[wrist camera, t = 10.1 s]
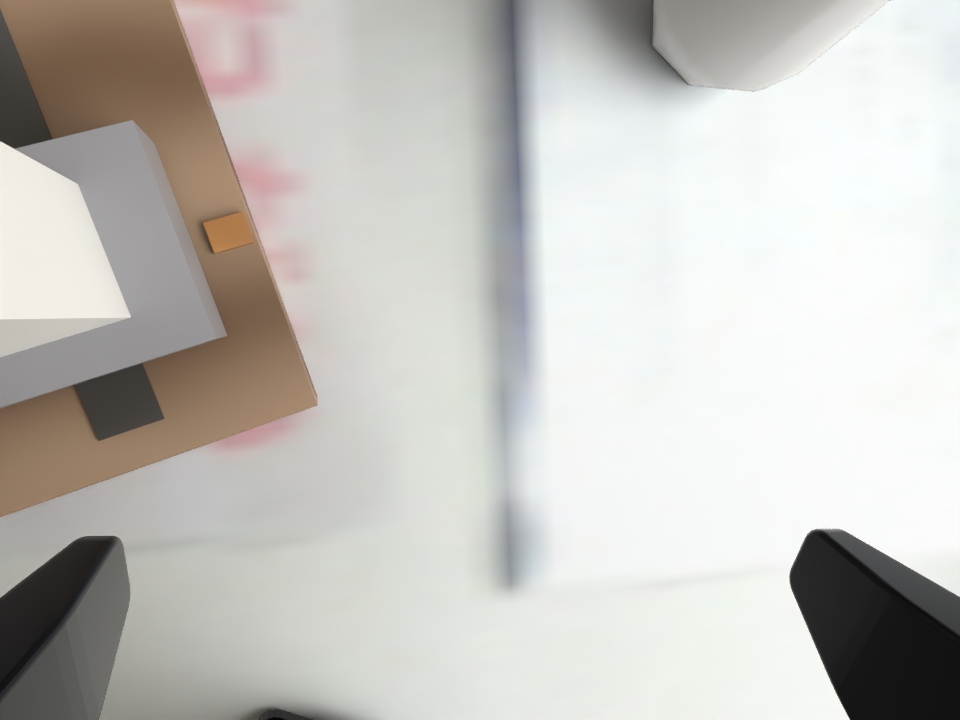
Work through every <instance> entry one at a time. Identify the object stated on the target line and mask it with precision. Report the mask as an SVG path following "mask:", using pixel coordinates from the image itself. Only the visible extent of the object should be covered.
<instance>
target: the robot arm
mask: <svg viewBox="0 0 960 720" xmlns="http://www.w3.org/2000/svg"><path fill="white" fill-rule="evenodd" d="M789 577H790V585H791V589H792V592H793V594H794V596H795V599H796V601H797V603H798V606H799V608H800V610H801V613H802V615H803V617H804V620H805V622H806V625H807V627H808V629H809V632H810V634H811V636H812V639H813V641H814V643H815V646H816V648H817V650H818V653H819V655H820V657H821V660H822V662H823V664H824V667H825V669H826V672H827V674H828V676H829V678H830V681H831V683H832V685H833V687H834V689H835V692H836V694H837V696H838V698H839V700H840V702H841V704H842V706H843V708H844V710H845V711H846V713H847V715H848V717H849V719H850V720H960V597H959V596H957V595H955V594H954V593H952V592H950V591H948V590H947V589H945V588H943V587H941V586H940V585H938V584H936V583H934V582H933V581H931V580H929V579H928V578H926V577H924V576H922V575H921V574H919V573H917V572H915V571H914V570H912V569H910V568H908V567H907V566H905V565H903V564H901V563H900V562H898V561H896V560H894V559H893V558H891V557H889V556H887V555H886V554H884V553H882V552H880V551H879V550H877V549H875V548H873V547H872V546H870V545H868V544H866V543H865V542H863V541H861V540H859V539H858V538H856V537H854V536H853V535H851V534H849V533H847V532H845V531H843V530H840V529H815V530H812V531H811V532H809V533H808V534H807V536H806V538H805V540H804V542H803V544H802V546H801V548H800V550H799V553H798V555H797V557H796V559H795V561H794V563H793V566H792V568H791V570H790V576H789ZM129 601H130V583H129V577H128V571H127V565H126V559H125V553H124V547H123V544H122V542H121V540H120V539H119V538H118V537H115V536H85V537H81V538H79V539H77V540H75V541H74V542H72V543H71V544H70V545H68V546H67V547H66V548H64V549H63V550H62V551H60V552H59V553H58V554H57V555H55V556H54V557H53V558H51V559H50V560H49V561H47V562H46V563H45V564H44V565H42V566H41V567H40V568H38V569H37V570H36V571H34V572H33V573H32V574H31V575H29V576H28V577H27V578H25V579H24V580H23V581H21V582H20V583H19V584H18V585H16V586H15V587H14V588H12V589H11V590H10V591H8V592H7V593H6V594H5V595H3V596H2V597H1V598H0V720H99V717H100V714H101V710H102V706H103V702H104V698H105V695H106V691H107V687H108V683H109V679H110V676H111V672H112V668H113V664H114V660H115V657H116V653H117V649H118V645H119V641H120V638H121V634H122V630H123V626H124V622H125V619H126V615H127V611H128V607H129ZM259 720H311V719H308V718H305V717H302V716H299V715H296V714H292V713H289V712H286V711H283V710H277V709H274V710H270V711H267V712H266V713H264V714H263V715H262V716H261V717H260V719H259Z"/></svg>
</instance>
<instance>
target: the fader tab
mask: <svg viewBox="0 0 960 720" xmlns="http://www.w3.org/2000/svg"><path fill="white" fill-rule="evenodd" d="M225 336H227V333H226V331H225V328H224V325H223V323H222V320H221V317H220V315H219V312H218V309H217V307H216V304H215V302H214V299H213V296H212V294H211V291H210V288H209V286H208V283H207V280H206V278H205V275H204V273H203V270H202V267H201V265H200V262H199V259H198V257H197V254H196V251H195V249H194V246H193V244H192V241H191V238H190V236H189V233H188V230H187V228H186V225H185V222H184V220H183V217H182V215H181V212H180V209H179V207H178V204H177V201H176V199H175V196H174V193H173V191H172V188H171V186H170V183H169V180H168V178H167V175H166V172H165V170H164V167H163V164H162V162H161V159H160V156H159V154H158V151H157V149H156V146H155V143H154V142H153V141H152V140H151V139H150V138H149V137H148V136H147V135H146V134H145V133H144V132H143V131H142V130H141V128H140V127H139V126H138V125H137V124H136V123H135V122H134V121H133V120H130V121H126V122H122V123H118V124H114V125H110V126H106V127H102V128H98V129H93V130H89V131H85V132H81V133H77V134H73V135H69V136H65V137H61V138H56V139H52V140H48V141H44V142H40V143H36V144H32V145H28V146H24V147H19V148H15V149H13V148H12V147H10V146H8V145H6V144H4V143H2V142H1V141H0V409H1V408H4V407H7V406H10V405H13V404H16V403H19V402H22V401H26V400H29V399H32V398H35V397H38V396H41V395H44V394H47V393H50V392H54V391H57V390H60V389H63V388H66V387H69V386H72V385H75V384H79V383H82V382H85V381H88V380H91V379H94V378H97V377H100V376H104V375H107V374H110V373H113V372H116V371H119V370H122V369H125V368H129V367H132V366H135V365H138V364H141V363H144V362H147V361H150V360H154V359H157V358H160V357H163V356H166V355H169V354H172V353H175V352H178V351H182V350H185V349H188V348H191V347H194V346H197V345H200V344H203V343H207V342H210V341H213V340H216V339H219V338H222V337H225Z"/></svg>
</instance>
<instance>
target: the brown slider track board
mask: <svg viewBox="0 0 960 720" xmlns="http://www.w3.org/2000/svg"><path fill="white" fill-rule="evenodd" d="M130 120H133V121H134V122H135V123H136V124H137V125H138V126H139V127H140V128H141V130H142V131H143V132H144V133H145V134H146V135H147V136H148V137H149V138H150V139H151V140H152V141H153V142H154V143H155V146H156V149H157V151H158V154H159V156H160V159H161V162H162V164H163V167H164V170H165V172H166V175H167V178H168V180H169V183H170V186H171V188H172V191H173V193H174V196H175V199H176V201H177V204H178V207H179V209H180V212H181V215H182V217H183V220H184V222H185V225H186V228H187V230H188V233H189V236H190V238H191V241H192V244H193V246H194V249H195V251H196V254H197V257H198V259H199V262H200V265H201V267H202V270H203V273H204V275H205V278H206V280H207V283H208V286H209V288H210V291H211V294H212V296H213V299H214V302H215V304H216V307H217V309H218V312H219V315H220V317H221V320H222V323H223V325H224V328H225V331H226V333H227V336H225V337H222V338H219V339H216V340H213V341H210V342H207V343H203V344H200V345H197V346H194V347H191V348H188V349H185V350H182V351H178V352H175V353H172V354H169V355H166V356H163V357H160V358H157V359H154V360H150V361H147V362H144V363H141V364H138V365H135V366H132V367H129V368H125V369H122V370H119V371H116V372H113V373H110V374H107V375H104V376H100V377H97V378H94V379H91V380H88V381H85V382H82V383H79V384H75V385H72V386H69V387H66V388H63V389H60V390H57V391H54V392H50V393H47V394H44V395H41V396H38V397H35V398H32V399H29V400H26V401H22V402H19V403H16V404H13V405H10V406H7V407H4V408H1V409H0V517H2V516H5V515H8V514H11V513H14V512H16V511H19V510H22V509H25V508H28V507H31V506H33V505H36V504H39V503H42V502H45V501H48V500H50V499H53V498H56V497H59V496H62V495H65V494H67V493H70V492H73V491H76V490H79V489H82V488H84V487H87V486H90V485H93V484H96V483H99V482H101V481H104V480H107V479H110V478H113V477H116V476H118V475H121V474H124V473H127V472H130V471H133V470H135V469H138V468H141V467H144V466H147V465H150V464H152V463H155V462H158V461H161V460H164V459H167V458H169V457H172V456H175V455H178V454H181V453H184V452H186V451H189V450H192V449H195V448H198V447H201V446H203V445H206V444H209V443H212V442H215V441H218V440H220V439H223V438H226V437H229V436H232V435H235V434H237V433H240V432H243V431H246V430H249V429H252V428H254V427H257V426H260V425H263V424H266V423H269V422H271V421H274V420H277V419H280V418H283V417H286V416H288V415H291V414H294V413H297V412H300V411H303V410H305V409H308V408H311V407H314V406H317V395H316V392H315V389H314V386H313V384H312V381H311V378H310V375H309V373H308V370H307V367H306V364H305V362H304V359H303V356H302V353H301V351H300V348H299V345H298V342H297V340H296V337H295V334H294V331H293V329H292V326H291V323H290V320H289V318H288V315H287V312H286V309H285V307H284V304H283V301H282V298H281V296H280V293H279V290H278V287H277V285H276V282H275V279H274V276H273V274H272V271H271V268H270V265H269V263H268V260H267V257H266V254H265V252H264V249H263V246H262V243H261V241H260V238H259V235H258V232H257V230H256V227H255V224H254V221H253V219H252V216H251V213H250V210H249V208H248V205H247V202H246V199H245V197H244V194H243V191H242V188H241V186H240V183H239V180H238V177H237V175H236V172H235V169H234V166H233V164H232V161H231V158H230V155H229V153H228V150H227V147H226V144H225V142H224V139H223V136H222V133H221V131H220V128H219V125H218V122H217V120H216V117H215V114H214V111H213V109H212V106H211V103H210V100H209V98H208V95H207V92H206V89H205V86H204V84H203V81H202V78H201V75H200V73H199V70H198V67H197V64H196V62H195V59H194V56H193V53H192V51H191V48H190V45H189V42H188V40H187V37H186V34H185V31H184V29H183V26H182V23H181V20H180V18H179V15H178V12H177V9H176V7H175V4H174V1H173V0H0V141H1V142H2V143H4V144H6V145H8V146H10V147H12V148H13V149H15V148H19V147H24V146H28V145H32V144H36V143H40V142H44V141H48V140H52V139H56V138H61V137H65V136H69V135H73V134H77V133H81V132H85V131H89V130H93V129H98V128H102V127H106V126H110V125H114V124H118V123H122V122H126V121H130Z"/></svg>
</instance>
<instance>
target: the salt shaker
mask: <svg viewBox="0 0 960 720" xmlns="http://www.w3.org/2000/svg"><path fill="white" fill-rule="evenodd" d="M889 1H890V0H654V4H653V41H652V46H653V47H654V48H655V49H656V50H657V51H658V52H659V53H660V55H661V56H662V57H663V58H664V59H665V60H666V61H667V62H668V63H669V64H670V65H671V66H672V67H673V68H674V69H675V70H676V71H677V73H678V74H679V75H680V76H681V77H682V78H683V79H684V80H685V81H686V82H687V83H688V84H689V85H693V86H702V87H711V88H721V89H731V90H742V91H752V92H754V91H757V90H761V89H764V88H767V87H769V86H771V85H774V84H776V83H778V82H781V81H783V80H785V79H787V78H790V77H792V76H794V75H796V74H799V73H800V72H801V71H802V70H804V69H805V68H806V67H807V66H809V65H810V64H811V63H812V62H814V61H815V60H816V59H817V58H819V57H820V56H821V55H822V54H824V53H825V52H826V51H827V50H829V49H830V48H831V47H833V46H834V45H835V44H836V43H838V42H839V41H840V40H841V39H843V38H844V37H845V36H846V35H848V34H849V33H850V32H851V31H853V30H854V29H855V28H856V27H858V26H859V25H860V24H862V23H863V22H864V21H865V20H867V19H868V18H869V17H870V16H872V15H873V14H874V13H875V12H877V11H878V10H879V9H880V8H882V7H883V6H884V5H885V4H887V3H888V2H889Z"/></svg>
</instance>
